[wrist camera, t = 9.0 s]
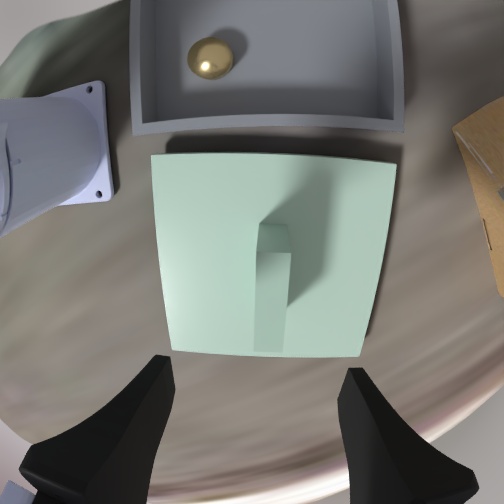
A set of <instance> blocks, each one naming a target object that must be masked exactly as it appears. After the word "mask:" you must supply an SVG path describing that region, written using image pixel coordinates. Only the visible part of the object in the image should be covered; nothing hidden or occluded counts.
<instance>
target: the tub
mask: <svg viewBox="0 0 504 504" xmlns="http://www.w3.org/2000/svg"><path fill="white" fill-rule="evenodd" d="M207 37H215V38H219V39H221V40H223V41H225V42H226V43H227V44H228V46H229V47H230V49H231V51H232V53H233V55H234V64H233V67H232V69H231V71H230V72H229V73H228V74H227V75H226V76H225V77H223V78H221V79H218V80H205V79H203V78H201V77H199V76H197V75H196V74H194V73H193V72H192V71H191V70H190V68H189V66H188V63H187V55H188V52H189V50H190V48H191V47H192V45H193V44H194V43H196V42H197V41H199V40H201V39H203V38H207ZM129 69H130V100H131V119H132V133H133V136H138V135H146V134H154V133H163V132H173V131H183V130H195V129H209V128H225V127H250V126H316V127H341V128H357V129H371V130H382V131H392V132H402V133H404V72H403V53H402V40H401V29H400V19H399V11H398V3H397V0H131V3H130V33H129Z"/></svg>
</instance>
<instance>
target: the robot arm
mask: <svg viewBox="0 0 504 504" xmlns="http://www.w3.org/2000/svg"><path fill="white" fill-rule="evenodd" d="M91 86H92V88H93V90H92V92H91V93H90V92H89V89H90V87H91ZM99 191H101V192H102V197H101V196H99V194H98V192H99ZM113 196H114V188H113V180H112V172H111V163H110V154H109V143H108V131H107V117H106V98H105V84H104V83H103V82H102V81H93V82H89V83H85V84H82V85H78V86H75V87H71V88H68V89H65V90H61V91H58V92H55V93H52V94H49V95H46V96H43V97H28V98H10V99H0V238H1V237H3V236H5V235H6V234H8V233H9V232H11V231H13V230H14V229H16V228H18V227H20V226H21V225H23V224H25V223H26V222H28V221H30V220H32V219H33V218H35V217H37V216H39V215H41V214H42V213H44V212H46V211H48V210H50V209H52V208H53V207H55V206H59V205H68V204H79V203H89V202H101V201H108V200H110V199H112V198H113ZM174 394H175V384H174V377H173V371H172V365H171V358H170V357H169V356H162V355H155V356H154V357H153V358H152V359H151V360H150V361H149V363H148V364H147V365H146V366H145V367H144V368H143V369H142V370H141V371H140V373H139V374H138V375H137V376H136V377H135V378H134V379H133V380H132V381H131V382H130V383H129V384H128V385H127V386H126V387H125V388H124V389H123V390H122V391H121V392H120V393H119V394H118V395H116V396H115V397H114V398H113V399H112V400H111V401H110V402H109V403H107V404H106V405H105V406H104V407H102V408H101V409H100V410H99V411H97V412H96V413H95V414H93V415H92V416H90V417H89V418H87V419H86V420H84V421H83V422H81V423H79V424H78V425H76V426H74V427H73V428H71V429H69V430H67V431H65V432H63V433H61V434H59V435H57V436H55V437H53V438H50V439H48V440H45V441H42V442H39V443H37V444H34V445H32V446H31V447H30V448H29V450H28V451H27V453H26V455H25V457H24V459H23V461H22V463H21V465H20V467H19V471H20V473H21V475H22V476H23V477H24V478H25V479H26V480H27V481H28V482H29V483H30V484H31V485H32V486H34V487H35V488H36V489H37V490H38V491H37V493H36V495H34V494H33V493H31V492H30V491H28V490H26V489H24V488H23V487H20V486H19V485H17V484H15V483H14V482H12V481H8V482H7V484H6V486H5V488H4V490H3V492H2V495H1V497H0V504H146V502H147V495H148V489H149V484H150V478H151V473H152V468H153V464H154V459H155V456H156V452H157V449H158V446H159V444H160V441H161V438H162V435H163V432H164V429H165V427H166V424H167V421H168V418H169V415H170V412H171V408H172V404H173V399H174ZM337 401H338V414H339V423H340V428H341V433H342V438H343V443H344V448H345V452H346V457H347V462H348V469H349V482H350V504H464V503H465V502H466V501H467V500H469V499H470V498H471V497H472V496H473V495H475V494H476V493H477V491H478V490H479V485H478V482H477V479H476V477H475V474H474V472H473V470H471V469H469V468H467V467H465V466H463V465H461V464H459V463H457V462H455V461H454V460H452V459H450V458H449V457H447V456H446V455H444V454H443V453H441V452H440V451H438V450H437V449H435V448H434V447H433V446H431V445H430V444H429V443H428V442H426V441H425V440H424V439H423V438H422V437H420V436H419V435H418V434H417V433H416V432H415V431H414V430H413V429H412V428H411V427H410V426H409V425H408V424H407V423H406V422H405V421H404V420H403V419H402V418H401V417H400V416H399V415H398V413H397V412H396V411H395V410H394V409H393V408H392V406H391V405H390V404H389V403H388V401H387V400H386V399H385V397H384V396H383V395H382V394H381V392H380V391H379V390H378V388H377V387H376V385H375V384H374V383H373V381H372V380H371V379H370V377H369V376H368V374H367V373H366V372H365V370H364V369H363V368H348V371H347V374H346V377H345V380H344V383H343V385H342V388H341V391H340V394H339V397H338V399H337Z"/></svg>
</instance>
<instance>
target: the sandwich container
mask: <svg viewBox="0 0 504 504" xmlns="http://www.w3.org/2000/svg"><path fill="white" fill-rule="evenodd" d="M452 131H453V133H454V136H455V138H456V141H457V144H458V146H459V149H460V152H461V154H462V157H463V160H464V163H465V166H466V169H467V172H468V175H469V178H470V181H471V184H472V188H473V191H474V194H475V198H476V202H477V205H478V209H479V213H480V215H481V218H482V223H483V227H484V231H485V235H486V239H487V243H488V248H489V253H490V257H491V261H492V265H493V269H494V273H495V278H496V282H497V287H498V293H499V294H500V295H501V296H502V297H503V298H504V96H502V97H500V98H498V99H496V100H494V101H492V102H490V103H488V104H487V105H485V106H483V107H482V108H480V109H479V110H477V111H476V112H474V113H473V114H471V115H470V116H468V117H467V118H465V119H464V120H462V121H461V122H459V123H458V124H456V125H455V126H453V128H452ZM483 219H484V220H485V222H484V221H483ZM484 223H485V226H486V230H487V234H488V238H487V234H486V230H485V226H484ZM488 239H489V242H488ZM489 243H490V246H491V248H492V250H491V249H490V246H489Z"/></svg>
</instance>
